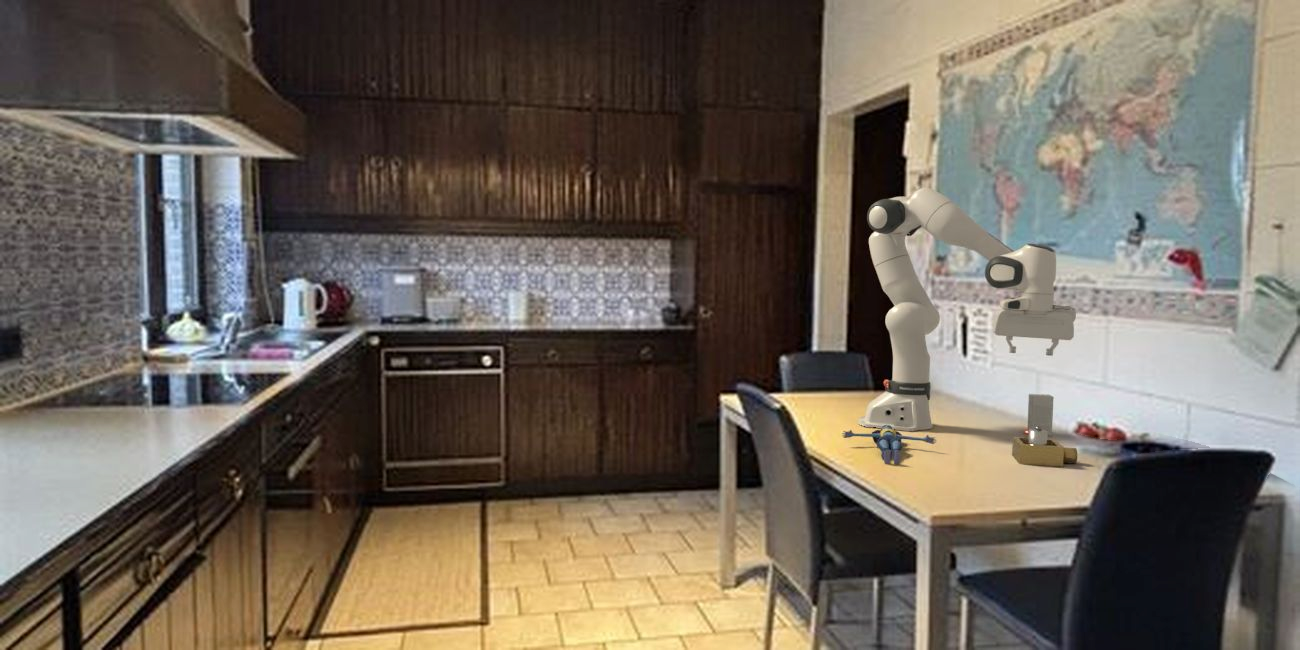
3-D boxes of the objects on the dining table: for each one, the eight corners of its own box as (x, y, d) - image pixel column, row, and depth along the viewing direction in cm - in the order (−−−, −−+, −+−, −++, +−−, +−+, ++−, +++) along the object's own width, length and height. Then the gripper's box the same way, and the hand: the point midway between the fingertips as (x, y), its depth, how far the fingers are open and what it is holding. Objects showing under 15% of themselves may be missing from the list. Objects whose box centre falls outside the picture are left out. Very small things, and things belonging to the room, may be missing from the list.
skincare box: (1046, 433, 262) (1049, 394, 261) (1052, 436, 258) (1054, 396, 257) (1026, 432, 262) (1028, 393, 262) (1031, 435, 258) (1033, 395, 257)
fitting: (1019, 463, 220) (1020, 439, 220) (1008, 451, 235) (1010, 428, 235) (1080, 468, 217) (1081, 443, 216) (1065, 454, 232) (1067, 431, 231)
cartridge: (1028, 462, 222) (1030, 427, 222) (1024, 458, 227) (1026, 424, 226) (1048, 463, 221) (1050, 429, 221) (1044, 459, 226) (1046, 425, 225)
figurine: (893, 466, 216) (894, 445, 215) (828, 446, 238) (829, 427, 238) (955, 458, 225) (956, 438, 225) (887, 440, 248) (888, 421, 248)
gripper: (1074, 305, 234) (1069, 355, 236) (994, 300, 239) (990, 350, 241) (1079, 307, 228) (1074, 358, 230) (997, 302, 233) (993, 352, 235)
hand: (1030, 354), depth 235 cm, fingers open, 8 cm apart
